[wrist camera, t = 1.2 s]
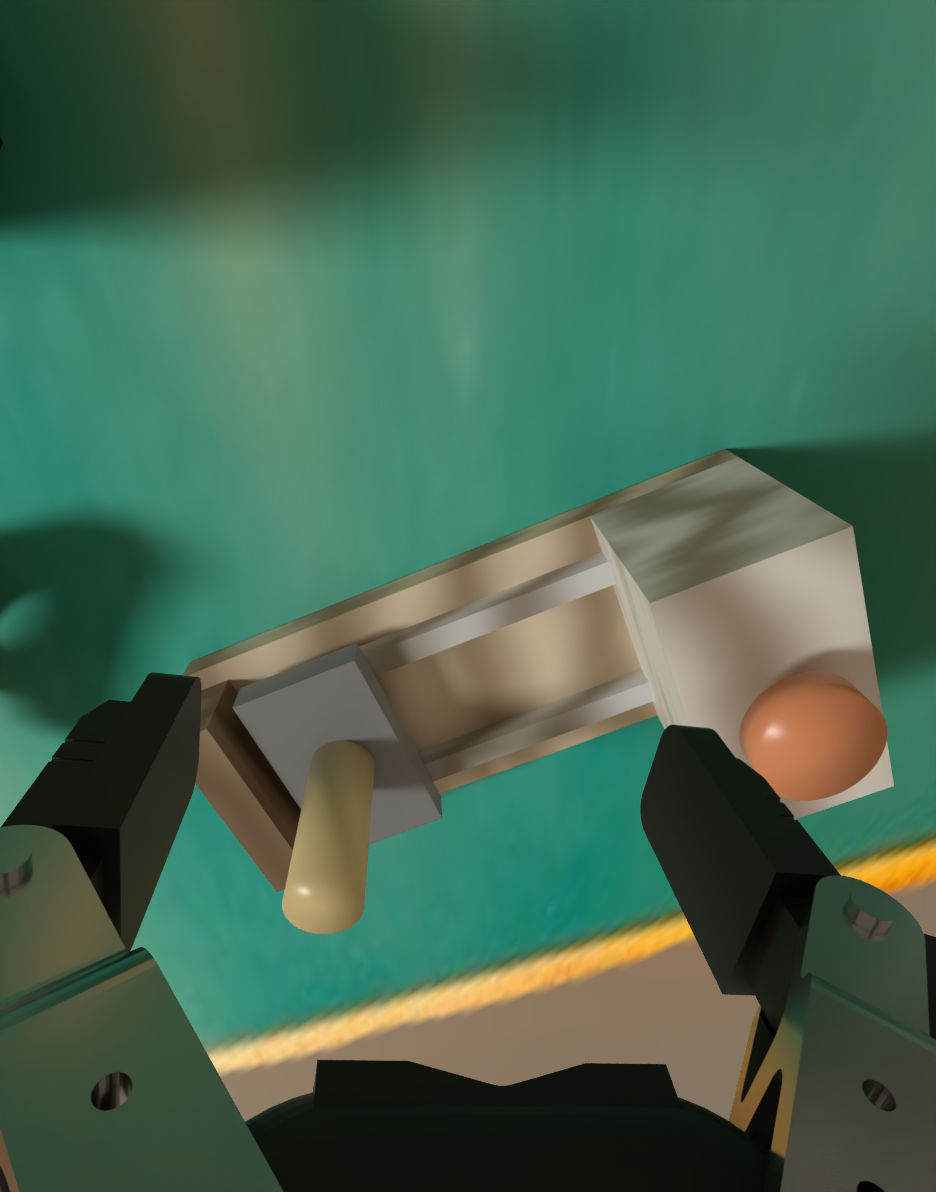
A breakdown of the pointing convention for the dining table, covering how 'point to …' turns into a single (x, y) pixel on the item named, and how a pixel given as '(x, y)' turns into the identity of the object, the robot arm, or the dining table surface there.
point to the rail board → (571, 639)
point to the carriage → (336, 778)
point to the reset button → (812, 735)
